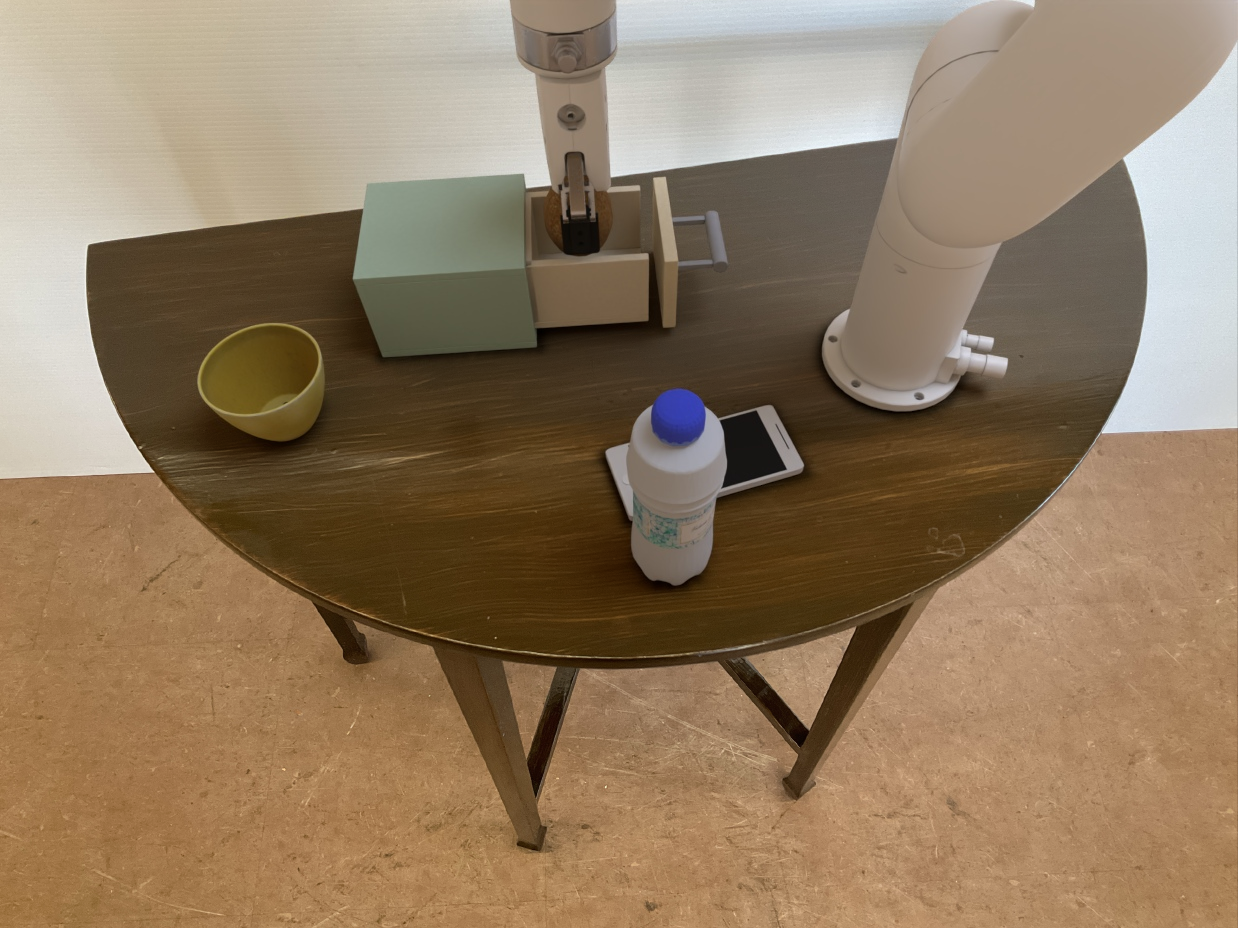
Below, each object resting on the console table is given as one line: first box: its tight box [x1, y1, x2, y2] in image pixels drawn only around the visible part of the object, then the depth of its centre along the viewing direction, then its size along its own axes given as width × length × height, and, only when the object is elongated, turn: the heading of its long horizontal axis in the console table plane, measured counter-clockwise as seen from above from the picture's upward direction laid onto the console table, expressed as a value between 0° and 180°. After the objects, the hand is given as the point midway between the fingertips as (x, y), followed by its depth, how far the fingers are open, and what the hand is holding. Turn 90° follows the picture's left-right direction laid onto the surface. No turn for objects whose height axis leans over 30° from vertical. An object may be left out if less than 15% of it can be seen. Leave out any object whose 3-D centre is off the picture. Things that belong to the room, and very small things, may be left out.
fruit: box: [544, 175, 613, 257], centre depth 76 cm, size 6×6×8 cm
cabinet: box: [352, 173, 538, 358], centre depth 80 cm, size 15×13×10 cm
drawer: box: [525, 176, 729, 329], centre depth 80 cm, size 18×11×8 cm, turn 94°
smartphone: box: [605, 404, 805, 522], centre depth 73 cm, size 7×15×1 cm, turn 108°
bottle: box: [626, 388, 727, 586], centre depth 60 cm, size 7×7×20 cm
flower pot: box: [197, 322, 326, 442], centre depth 74 cm, size 10×10×7 cm
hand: (580, 223), depth 77 cm, fingers closed on fruit, 6 cm apart
